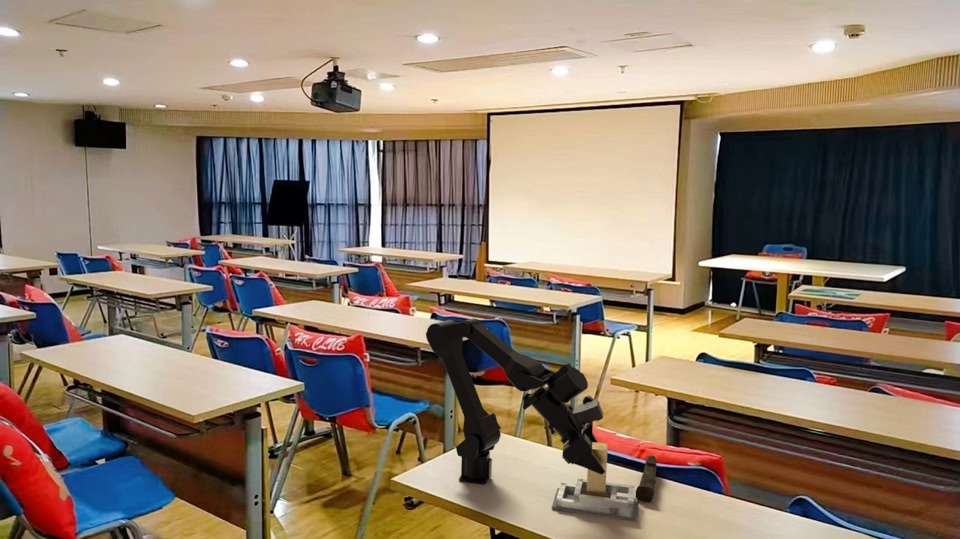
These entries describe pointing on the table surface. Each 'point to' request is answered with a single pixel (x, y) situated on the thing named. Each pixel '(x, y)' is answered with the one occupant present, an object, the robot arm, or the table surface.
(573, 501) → the grey slotted holder
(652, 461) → the dark brown rod
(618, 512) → the mat
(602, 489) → the pin
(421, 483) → the table surface
